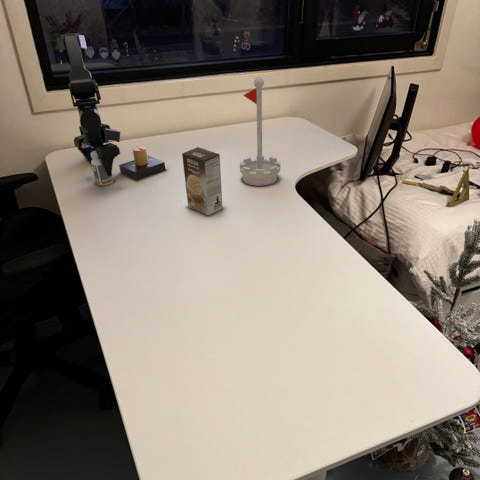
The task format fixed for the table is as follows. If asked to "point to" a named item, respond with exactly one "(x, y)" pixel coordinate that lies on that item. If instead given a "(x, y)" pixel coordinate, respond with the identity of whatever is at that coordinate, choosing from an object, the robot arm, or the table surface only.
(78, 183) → the table surface
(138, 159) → the handle
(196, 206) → the coffee box
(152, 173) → the black flat block
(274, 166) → the flag stand
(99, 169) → the pill bottle
